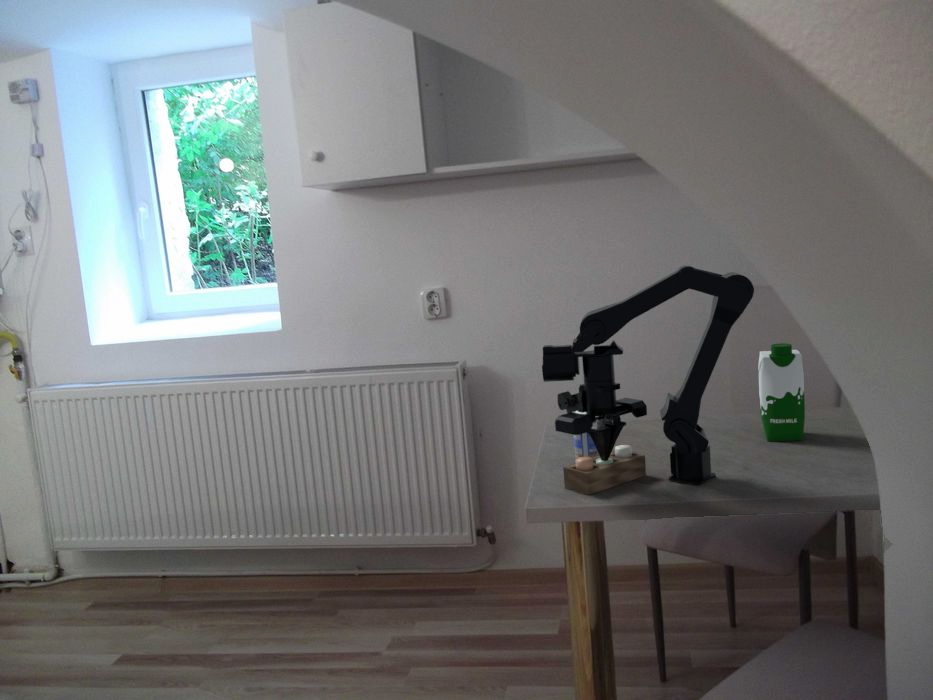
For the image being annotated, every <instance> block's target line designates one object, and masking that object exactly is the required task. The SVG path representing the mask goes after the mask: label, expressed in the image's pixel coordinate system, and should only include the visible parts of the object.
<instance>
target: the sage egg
mask: <svg viewBox="0 0 933 700" xmlns="http://www.w3.org/2000/svg"><path fill="white" fill-rule="evenodd" d="M596 463H598V464H601V465H607V464H610V463H613V459H612V458H609V459H608V460H606V461H603V460H601V458H599V459H596Z"/></svg>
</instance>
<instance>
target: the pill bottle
mask: <svg viewBox="0 0 933 700" xmlns="http://www.w3.org/2000/svg"><path fill="white" fill-rule="evenodd" d="M574 413H578V414H583V415H586V412H583V413H582V412H578V411H574ZM573 444H574V445H573V446H574V455H575V459H577V458H581V457H590V458H594V457H598V456H599V453H598V451H597V449H596V447H595V444H594V442H593V440H592V438H591V437H590V435H589V434H588V433H583V434H580V435H573Z"/></svg>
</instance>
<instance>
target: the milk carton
mask: <svg viewBox="0 0 933 700" xmlns="http://www.w3.org/2000/svg"><path fill="white" fill-rule="evenodd" d="M757 364H758V367H757V369H758V390H759V391H758V392H759V394H758V395H759V412H760V414H759V415H760V417H761V424H762V429H763V433H764V435H765V438H766V440H767V442H786V441H787V442H789V441H793V442H794V441H795V442H796V441H804V431H805V419H806V418H805V417H806V413H805V412H806V411H805V409H806V406H805V376H804V359H803V355H802V354H801V352H800V350H797V349H793V348H792V344H791V343H784V342H783V343H773V344H771V345H770V350H763V351H761V350H759V358H758V363H757Z"/></svg>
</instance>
